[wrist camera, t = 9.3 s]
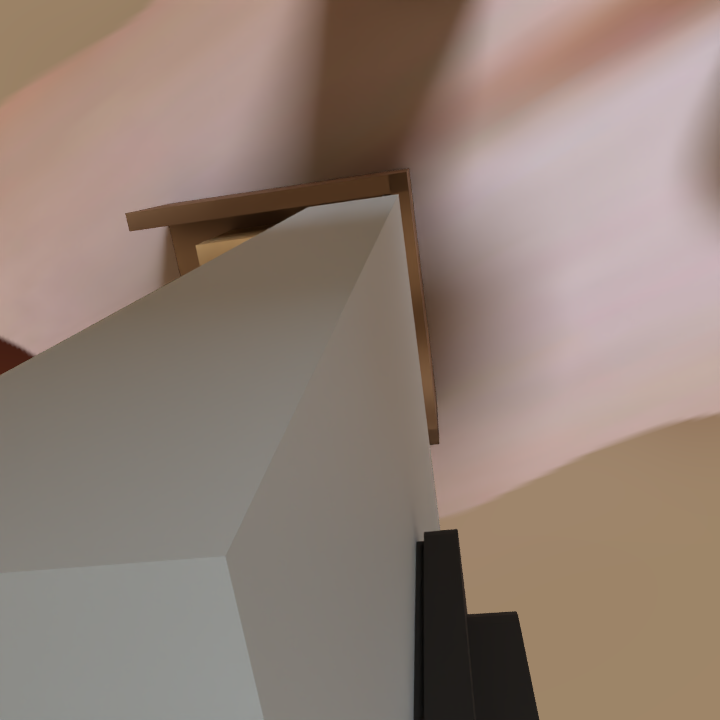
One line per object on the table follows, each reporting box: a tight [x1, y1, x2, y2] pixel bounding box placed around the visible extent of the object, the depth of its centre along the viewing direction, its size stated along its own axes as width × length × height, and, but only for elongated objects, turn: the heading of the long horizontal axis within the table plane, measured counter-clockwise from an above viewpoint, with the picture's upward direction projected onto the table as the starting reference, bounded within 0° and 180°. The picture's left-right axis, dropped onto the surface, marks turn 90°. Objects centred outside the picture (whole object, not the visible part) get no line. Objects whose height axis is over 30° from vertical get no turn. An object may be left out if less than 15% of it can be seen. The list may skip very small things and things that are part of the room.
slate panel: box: [0, 194, 440, 720], centre depth 12 cm, size 12×2×16 cm, turn 8°
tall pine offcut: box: [195, 224, 276, 266], centre depth 41 cm, size 5×4×7 cm
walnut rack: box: [126, 168, 439, 445], centre depth 42 cm, size 16×16×7 cm
